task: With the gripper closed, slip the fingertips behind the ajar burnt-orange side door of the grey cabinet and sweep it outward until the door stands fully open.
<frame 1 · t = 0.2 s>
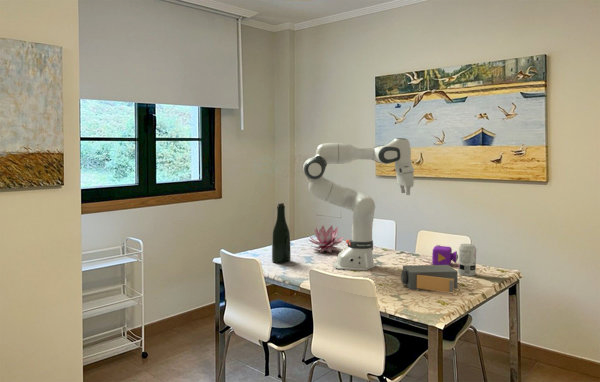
hand: (405, 193, 261), 39 cm above the table, tool pointing down, fingers open, 8 cm apart
grey cabinet: (429, 285, 228), on the table
supplement can: (466, 274, 247), on the table
toy camera: (444, 264, 266), on the table
decorative flower: (326, 251, 298), on the table
beer bottle: (281, 261, 274), on the table
side door: (434, 283, 217), point 4 cm above the table, hinge at -30.0°
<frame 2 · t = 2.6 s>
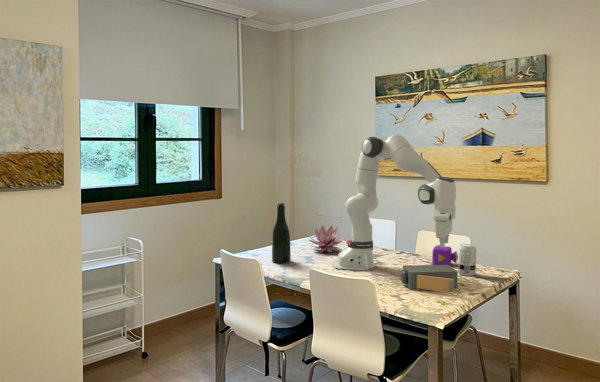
hand: (444, 244, 216), 21 cm above the table, tool pointing down, fingers open, 7 cm apart
nothing on the table moved.
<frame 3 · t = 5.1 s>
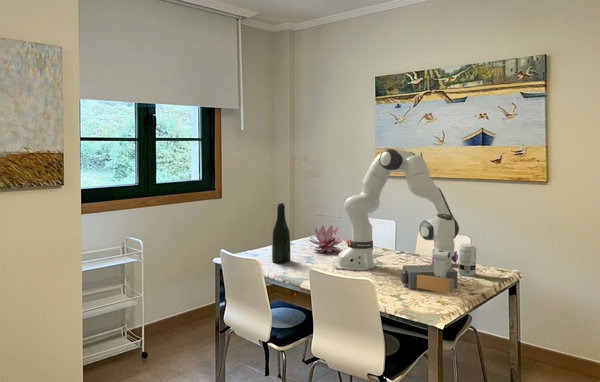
hand: (443, 281, 217), 5 cm above the table, tool pointing down, fingers closed
side door: (434, 283, 216), point 4 cm above the table, hinge at -30.8°, touching gripper
everything else where it was.
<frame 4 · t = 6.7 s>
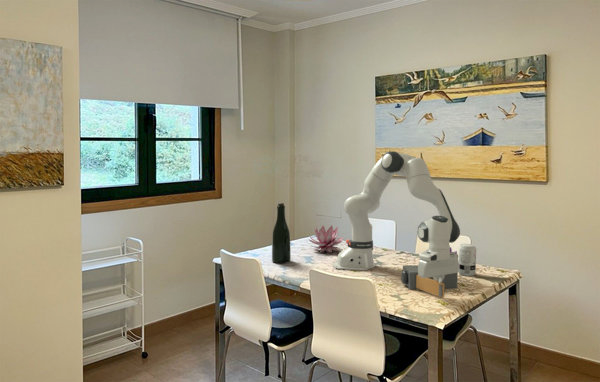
hand: (438, 285, 212), 5 cm above the table, tool pointing down, fingers closed
side door: (429, 286, 213), point 4 cm above the table, hinge at -63.6°, touching gripper
everything else where it was.
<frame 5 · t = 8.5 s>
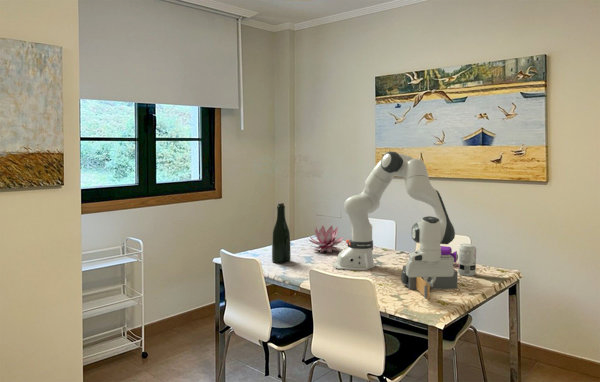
hand: (429, 286, 209), 5 cm above the table, tool pointing down, fingers closed
side door: (421, 286, 213), point 4 cm above the table, hinge at -89.8°, touching gripper
everything else where it was.
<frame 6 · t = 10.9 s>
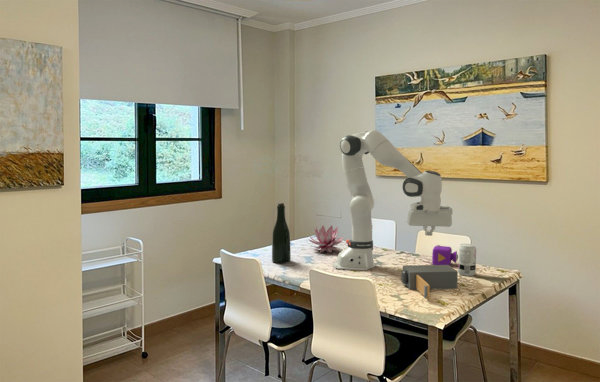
hand: (428, 235, 227), 23 cm above the table, tool pointing down, fingers closed
side door: (421, 286, 213), point 4 cm above the table, hinge at -89.9°
everything else where it was.
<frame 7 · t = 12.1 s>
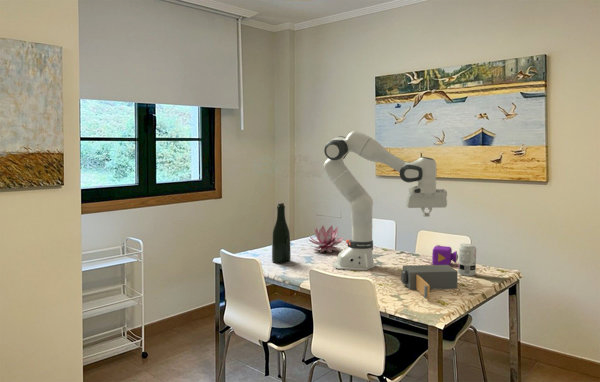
hand: (426, 216, 247), 29 cm above the table, tool pointing down, fingers closed
nothing on the table moved.
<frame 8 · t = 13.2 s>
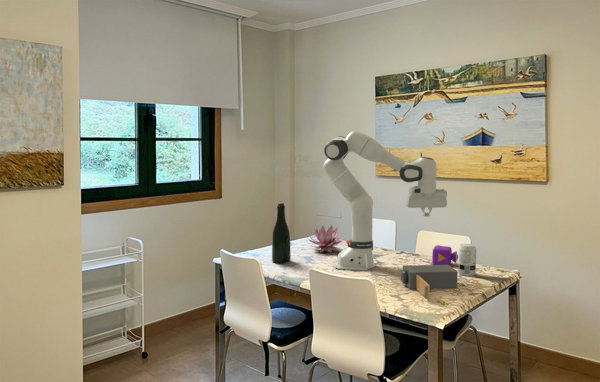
hand: (426, 216, 247), 29 cm above the table, tool pointing down, fingers closed
nothing on the table moved.
at the end: side door at -90° (first picture: -30°); supplement can moved 0.2 cm from its start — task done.
